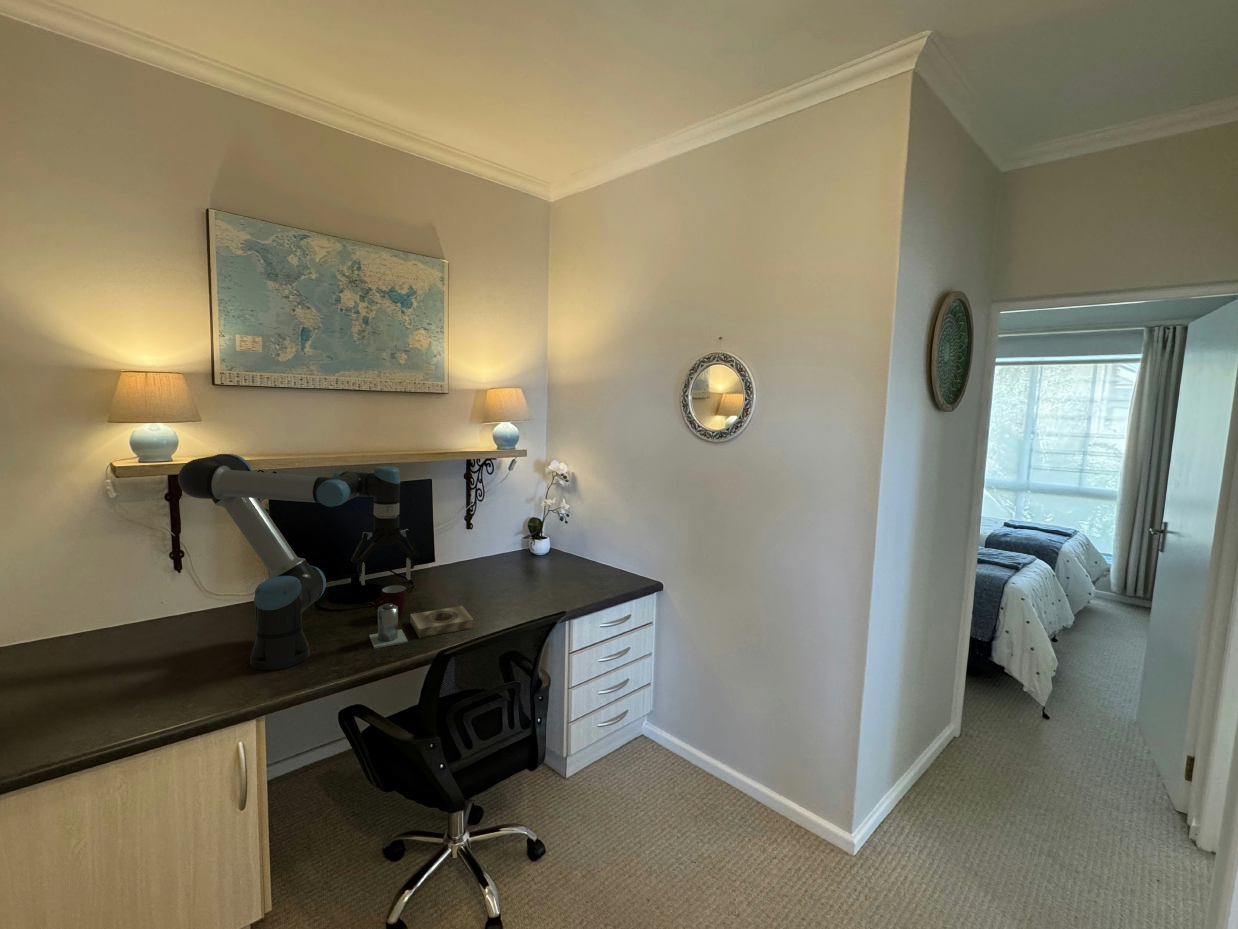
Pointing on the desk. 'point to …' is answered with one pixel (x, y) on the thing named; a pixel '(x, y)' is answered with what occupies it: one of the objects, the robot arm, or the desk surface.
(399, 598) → the mug
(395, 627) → the gray knobbed peg
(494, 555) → the desk surface
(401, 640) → the mat
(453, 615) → the housing
